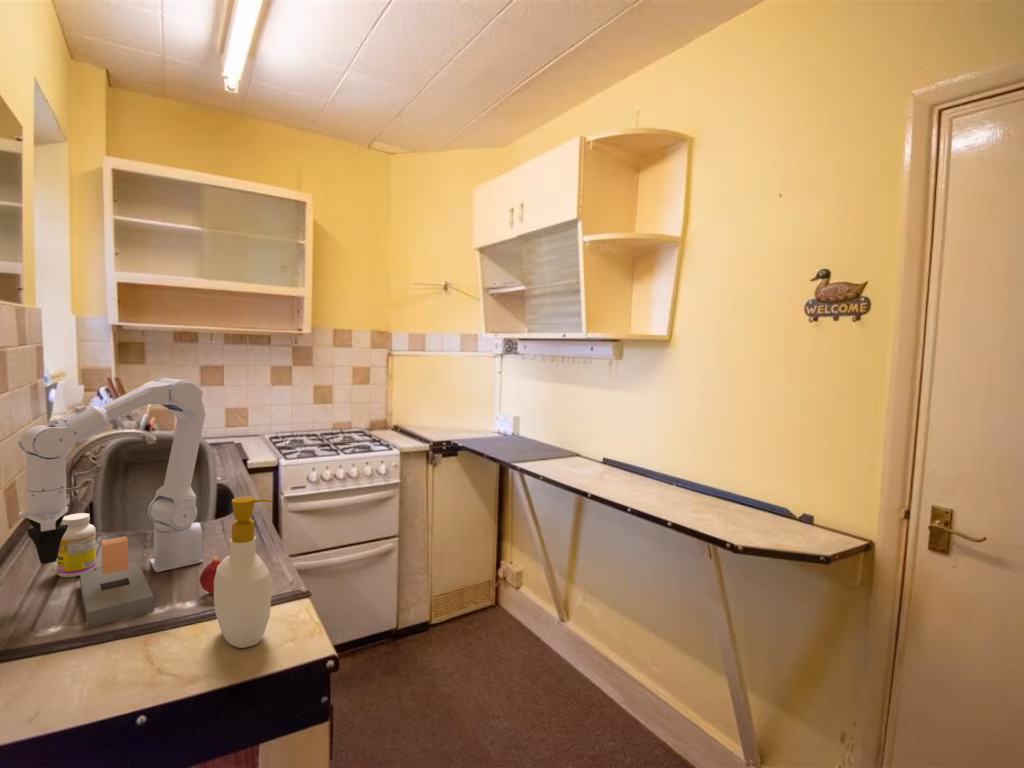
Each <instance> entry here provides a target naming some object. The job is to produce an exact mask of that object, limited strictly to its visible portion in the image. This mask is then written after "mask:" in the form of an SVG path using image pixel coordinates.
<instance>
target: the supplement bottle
mask: <svg viewBox="0 0 1024 768" xmlns="http://www.w3.org/2000/svg"><path fill="white" fill-rule="evenodd" d="M90 515H91V514H90V513H86V512H77V513H73V514H72V513H71V514H68V515H65V516H64V517H63V519H62V521H61V524H62V525H68V528H67V530H66V532H65V534H64V535H63V537H62V540H61V543H60V547H59V552H58V556H57V559H56V563H57V564H56V565H57V575H58V576H59V577H61V578H75V577H80V573H83V572H88V571H93V570H96V567H97V549H96V548H97V547H96V545H97V543H96V542H97V539H96V538H97V537H96V535H97V534H96V527H95V526H94V525H93V524H91V523H90V520H91V517H90Z"/></svg>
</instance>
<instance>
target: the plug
mask: <svg viewBox="0 0 1024 768" xmlns="http://www.w3.org/2000/svg"><path fill="white" fill-rule="evenodd" d="M128 563H129V540H128V538H127V536H126V535H125V536H120V537H115V538H108V539H103V540H101V569H102V571H103V574H108V573H113V572H117V571H122V570H127V569H128Z"/></svg>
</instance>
